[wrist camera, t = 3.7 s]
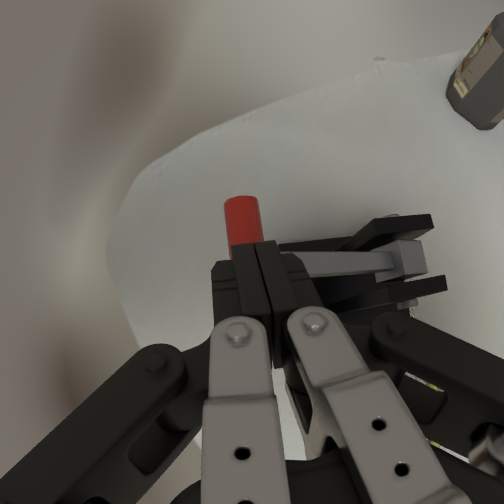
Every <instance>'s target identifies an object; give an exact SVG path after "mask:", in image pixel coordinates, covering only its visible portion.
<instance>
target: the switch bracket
mask: <svg viewBox="0 0 504 504" xmlns="http://www.w3.org/2000/svg"><path fill="white" fill-rule="evenodd" d="M433 228H434V225H433V221H432V218H431V214H421V215H409V216H399V215H398V214H391V215H387V216H384V217H382V218H374V219H373V220H372V221H370V222H369V223H368V224H367V225H366V226H364V227H363V228H362V229H361V230H360V231H358V232H357V233H356V234H355V235H354V236H349V237H340V238H331V239H322V240H313V241H304V242H295V243H286V244H278V248H279V251H280V252H370V250H372V249H374V248H377V247H380V246H382V245H385V244H388V243H390V242H393V241H395V240H414V239H416V238H418V237H419V236H421V235H423V234H425V233H426V232H428V231H430V230H432V229H433ZM310 280H312V282H313V284H314V286H315V289H316V291H317V293H318V295H319V297H320V299H321V301H322V303H323V306H324V308H326V309H328V310H330V311H332V312H333V313H335V314H336V315H337V317H338V318H339V319H340V321H341V322H343V323H347V324H353V325H370V326H372V323H373V320H374V319H375V318H376V317H377V316H378V315H380V314H382V313H385V312H400V313H404V314H406V315H409V316H410V313H409V307H413V306H417V305H418V301H417V298H418V297H422V296H426V295H431V294H435V293H439V292H443V291H447V290H448V289H447V283H446V278H445V275H440V276H435V277H430V278H425V279H420V280H415V281H410V282H404V280H401V281H394V282H385V283H376V278H375V273H370V274H356V275H342V276H328V277H312V278H310Z"/></svg>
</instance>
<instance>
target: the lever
mask: <svg viewBox="0 0 504 504" xmlns="http://www.w3.org/2000/svg"><path fill="white" fill-rule="evenodd" d="M224 211H225V220H226V229H227V238H228V246H229V255H230V260H232V255H231V245H235V244H244V243H252V244H253V243H254V242H261V241H264V238H263V231H262V224H261V217H260V211H259V204H258V200H257V198H255V197H253V196H237V197H233V198H230V199H228V200H227V201H226V202H225V203H224ZM280 253H281V254H284V253H293V254H294V255H296V256H297V257H298V258H300V259H301V260H302V261H303V263H304V265H305V268H306V270H307V272H308V274H309V276H310V278H312V277H328V276H342V275H356V274H370V273H375V278H376V283H385V282H394V281H401V280H405V279H408V278H412V277H415V276H419V275H423V274H426V273H428V272H427V267H426V262H425V257H424V252H423V248H422V244H421V241H418V240H395V241H393V242H390V243H388V244H385V245H382V246H380V247H377V248H374V249H372V250H370V252H280Z"/></svg>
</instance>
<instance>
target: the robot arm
mask: <svg viewBox="0 0 504 504" xmlns="http://www.w3.org/2000/svg"><path fill="white" fill-rule="evenodd" d="M231 255H232V260H224V261H217V262H216V264H215V265H214V267H213V268H212V270H211V280H212V297H213V313H214V329H213V330H212V333H211V335H210V337H209V338H208V339H207V340H206V341H205V342H203V343H202V344H200V345H199V346H196V347H194V348H192V349H189V350H186V351H183V352H180V351H179V350H178V349H177V348H176V347H174V346H172V345H168V344H152V345H149V346H146V347H144V348H142V349H141V350H139V351H138V352H137V353H136V354H135V355H134V356H132V357H131V358H130V359H129V360H128V361H127V362H126V363H125V364H124V365H123V366H122V367H121V368H119V369H118V370H117V371H116V372H115V373H114V374H113V375H112V376H111V377H110V378H109V379H107V380H106V381H105V382H104V383H103V384H102V385H101V386H100V387H99V388H98V389H97V390H96V391H95V392H93V393H92V394H91V395H90V396H89V397H88V398H87V399H86V400H85V401H84V402H83V403H82V404H81V405H79V406H78V407H77V408H76V409H75V410H74V411H73V412H72V413H71V414H70V415H69V416H68V417H67V418H66V419H64V420H63V421H62V422H61V423H60V424H59V425H58V426H57V427H56V428H55V429H54V430H53V431H51V432H50V433H49V434H48V435H47V436H46V437H45V438H44V439H43V440H42V441H41V442H40V443H38V444H37V445H36V446H35V447H34V448H33V449H32V450H31V451H30V452H29V453H28V454H27V455H26V456H25V457H23V458H22V459H21V460H20V461H19V462H18V463H17V464H16V465H15V466H14V467H13V468H12V469H11V470H10V471H8V472H7V473H6V474H5V475H4V476H3V477H2V478H1V479H0V504H136V503H137V502H138V501H139V500H140V499H141V497H142V496H143V495H144V494H145V493H146V492H147V491H148V490H149V489H150V488H151V486H152V485H153V484H154V483H155V482H156V481H157V480H158V479H159V478H160V476H161V475H162V474H163V473H164V472H165V470H167V468H168V467H169V466H170V465H171V464H172V463H173V461H174V460H175V459H176V458H177V457H178V456H179V455H180V453H181V452H182V451H183V450H184V449H185V448H186V446H187V445H188V444H189V443H190V442H191V440H192V439H193V438H194V437H195V436H196V434H197V433H198V432H199V431H200V429H201V427H202V455H201V456H202V457H201V480H199V481H197V482H196V483H194V484H192V485H190V486H189V487H187V488H186V489H185V490H183V491H182V492H181V493H180V494H179V495H178V496H177V497H175V499H174V500H173V501H172V502H171V503H170V504H504V359H502V358H500V357H497V356H495V355H493V354H491V353H489V352H487V351H484V350H482V349H480V348H478V347H476V346H474V345H472V344H469V343H467V342H465V341H463V340H461V339H459V338H456V337H454V336H452V335H450V334H448V333H446V332H443V331H441V330H439V329H437V328H435V327H433V326H430V325H428V324H426V323H424V322H422V321H420V320H417V319H415V318H413V317H411V316H409V315H406V314H404V313H400V312H385V313H382V314H380V315H378V316H377V317H376V318H375V319H374V320H373V323H372V326H370V325H353V324H347V323H343V322H341V321H340V319H339V318H338V317H337V315H336V314H335V313H333V312H332V311H330V310H328V309H326V308H324V306H323V303H322V301H321V299H320V297H319V295H318V293H317V291H316V289H315V286H314V284H313V282H312V280H310V276H309V274H308V272H307V270H306V268H305V265H304V263H303V261H302V260H301V259H300V258H298V257H297V256H296V255H294V254H293V253H284V254H281V253H280V251H279V248H278V246H277V243H276V241H275V240H270V241H261V242H254V243H253V244H252V243H244V244H235V245H231ZM272 361H273V366H274V369H277V368H283V369H284V373H285V389H286V392H287V395H288V398H289V401H290V404H291V406H292V409H293V412H294V415H295V418H296V420H297V423H298V426H299V429H300V431H301V434H302V437H303V441H304V445H305V454H306V459H307V460H306V461H304V460H285V456H284V448H283V441H282V433H281V425H280V418H279V410H278V403H277V398H276V395H275V394H274V388H273V380H272V373H271V369H272ZM406 372H408V373H410V374H412V375H414V376H416V377H418V378H420V379H422V380H424V381H426V382H428V383H430V384H432V385H434V386H436V387H438V388H440V389H442V390H444V392H440V391H437V390H435V389H432V388H430V387H428V386H426V385H424V384H422V383H420V382H418V381H416V380H415V379H413V378H411V377H409V376H407V375H405V373H406ZM426 438H427V439H429V440H431V441H433V442H435V443H437V444H439V445H441V446H443V447H445V448H447V449H449V450H451V451H453V452H455V453H458V454H460V455H462V456H464V457H466V458H468V460H469V463H467V462H465V461H463V460H461V459H459V458H457V457H455V456H453V455H451V454H449V453H447V452H446V451H444V450H442V449H440V448H438V447H436V446H434V445H432V444H429V443H428V441H427V440H426Z"/></svg>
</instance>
